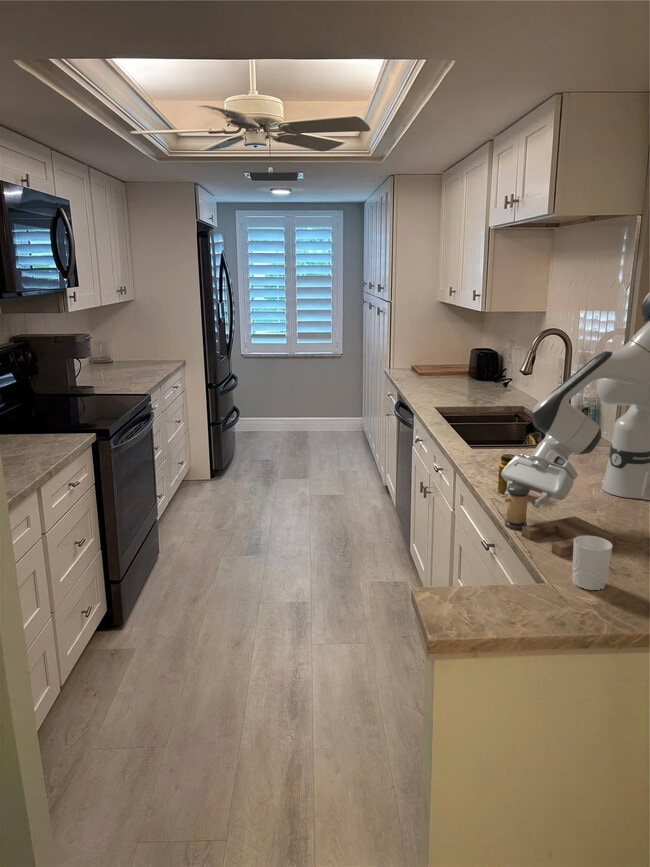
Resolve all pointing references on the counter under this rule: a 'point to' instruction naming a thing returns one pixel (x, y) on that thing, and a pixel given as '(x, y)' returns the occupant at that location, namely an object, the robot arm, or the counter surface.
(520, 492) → the tan grey capped cylinder
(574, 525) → the notched board
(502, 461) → the condiment
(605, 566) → the white cup
